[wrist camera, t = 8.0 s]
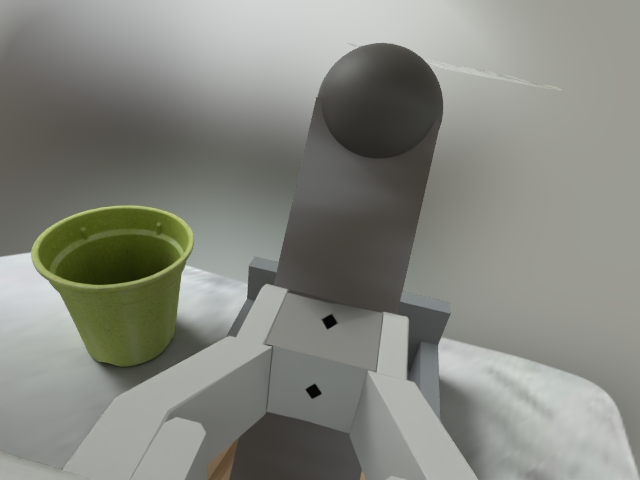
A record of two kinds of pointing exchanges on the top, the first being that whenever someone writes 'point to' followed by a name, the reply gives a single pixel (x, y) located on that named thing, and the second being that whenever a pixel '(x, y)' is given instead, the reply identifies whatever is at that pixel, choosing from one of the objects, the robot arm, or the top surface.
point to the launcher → (348, 232)
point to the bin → (420, 310)
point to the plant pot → (118, 277)
